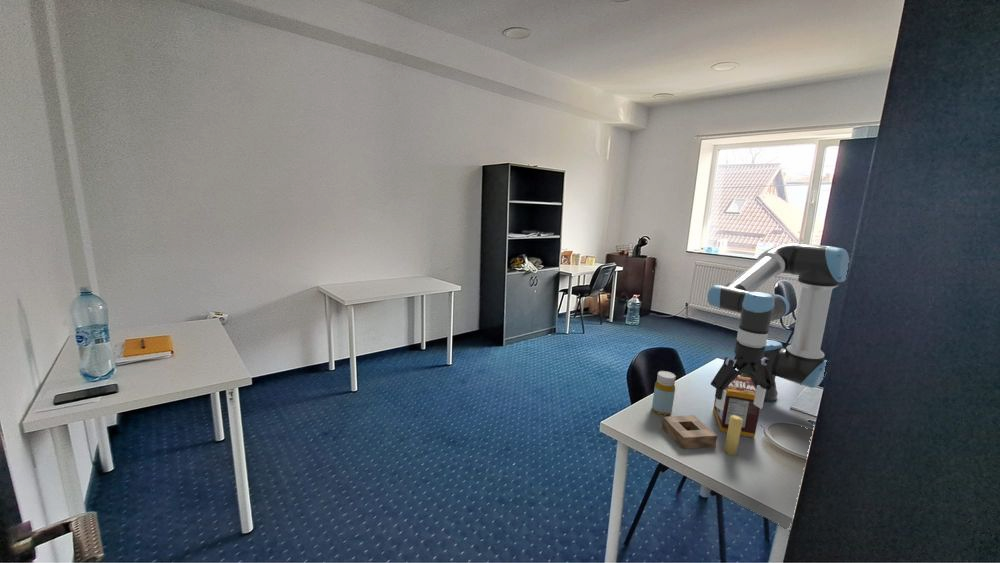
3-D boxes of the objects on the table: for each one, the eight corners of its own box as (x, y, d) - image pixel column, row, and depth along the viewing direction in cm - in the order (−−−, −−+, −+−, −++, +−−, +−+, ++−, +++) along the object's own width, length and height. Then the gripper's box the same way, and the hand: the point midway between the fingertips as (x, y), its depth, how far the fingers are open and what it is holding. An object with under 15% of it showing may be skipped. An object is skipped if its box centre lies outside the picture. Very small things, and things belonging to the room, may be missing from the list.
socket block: (692, 425, 138) (694, 415, 137) (715, 446, 126) (717, 435, 126) (661, 427, 136) (662, 416, 135) (682, 448, 125) (683, 437, 124)
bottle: (673, 417, 143) (678, 379, 140) (653, 414, 144) (658, 377, 141) (669, 407, 149) (674, 371, 146) (650, 404, 151) (655, 369, 148)
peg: (731, 448, 126) (737, 414, 123) (738, 454, 123) (745, 421, 120) (721, 448, 125) (727, 415, 123) (729, 455, 122) (735, 421, 120)
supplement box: (743, 415, 146) (750, 377, 143) (754, 438, 132) (763, 396, 128) (712, 409, 149) (719, 372, 146) (720, 431, 135) (728, 390, 132)
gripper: (776, 338, 122) (764, 399, 126) (704, 339, 118) (694, 402, 122) (797, 347, 114) (783, 411, 119) (722, 349, 110) (710, 415, 115)
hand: (738, 407), depth 121 cm, fingers open, 13 cm apart
